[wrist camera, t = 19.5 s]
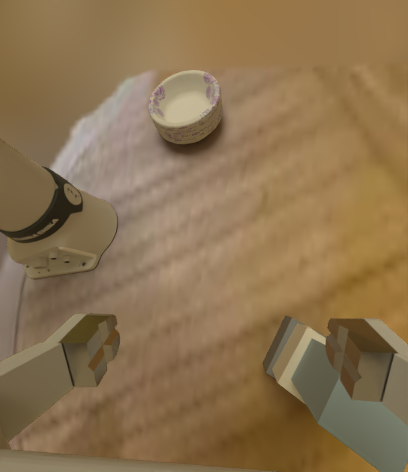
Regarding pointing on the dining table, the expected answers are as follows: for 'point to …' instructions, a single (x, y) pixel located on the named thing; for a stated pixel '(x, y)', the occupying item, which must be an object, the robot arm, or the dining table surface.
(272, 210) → the dining table surface
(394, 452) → the blue pillar
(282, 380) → the tower top
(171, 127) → the paper bowls
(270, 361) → the tower base
